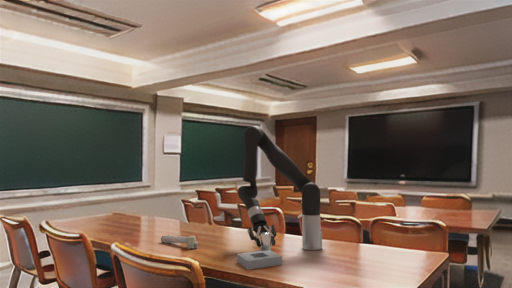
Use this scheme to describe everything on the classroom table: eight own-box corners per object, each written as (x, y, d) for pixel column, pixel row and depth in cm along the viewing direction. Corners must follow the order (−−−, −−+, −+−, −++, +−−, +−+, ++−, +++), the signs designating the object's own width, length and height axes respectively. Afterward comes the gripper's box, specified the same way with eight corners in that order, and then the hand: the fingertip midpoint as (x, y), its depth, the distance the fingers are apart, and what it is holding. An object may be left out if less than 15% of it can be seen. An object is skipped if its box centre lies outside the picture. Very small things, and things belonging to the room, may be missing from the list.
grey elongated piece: (167, 234, 198) (199, 233, 183) (168, 246, 197) (200, 246, 182) (159, 236, 194) (191, 235, 179) (160, 248, 193) (192, 249, 178)
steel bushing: (268, 252, 173) (267, 231, 173) (272, 254, 168) (272, 233, 169) (258, 253, 171) (258, 232, 171) (263, 256, 166) (263, 234, 167)
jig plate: (269, 257, 164) (269, 249, 164) (281, 264, 153) (281, 256, 153) (237, 261, 157) (237, 253, 157) (247, 269, 146) (247, 261, 146)
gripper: (245, 213, 174) (255, 242, 163) (271, 211, 180) (283, 239, 169) (241, 222, 179) (251, 251, 168) (267, 220, 185) (277, 248, 174)
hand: (267, 245), depth 168 cm, fingers open, 7 cm apart
